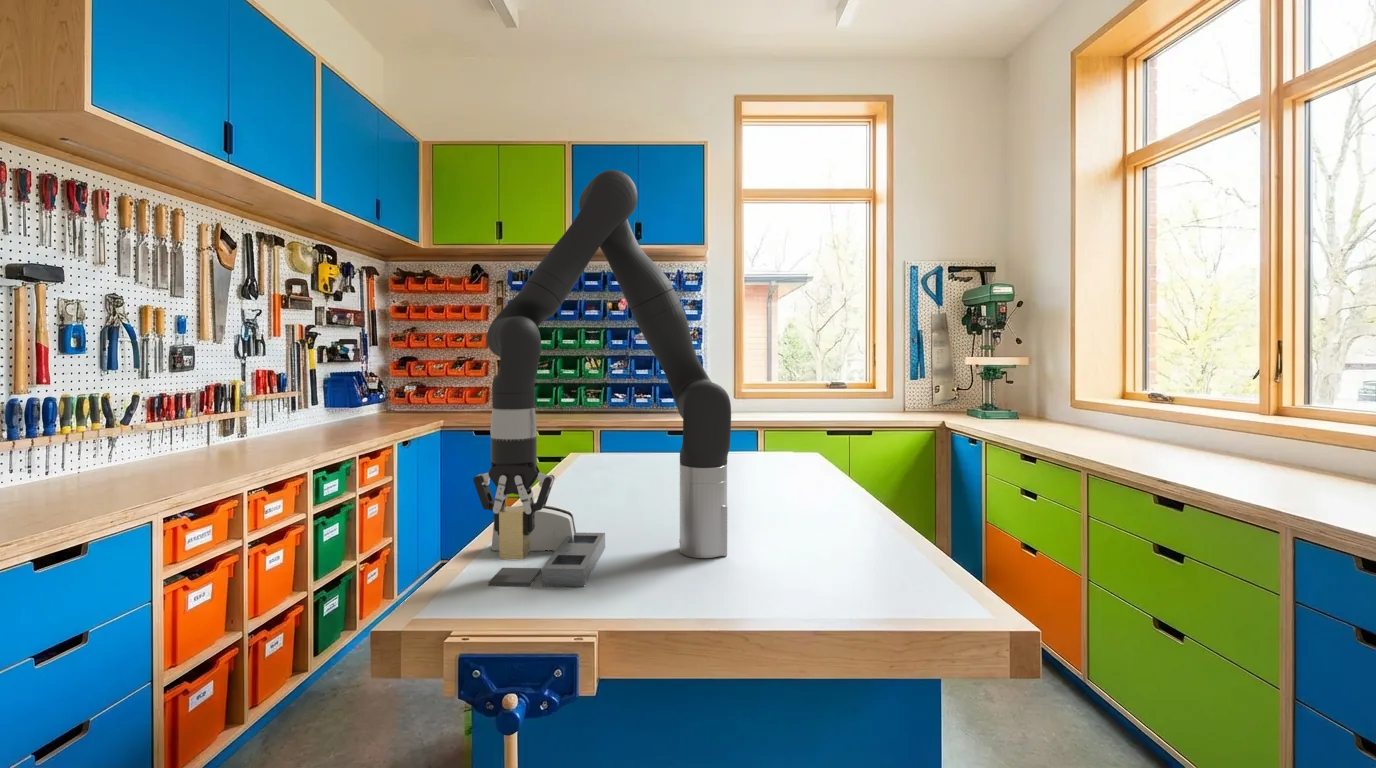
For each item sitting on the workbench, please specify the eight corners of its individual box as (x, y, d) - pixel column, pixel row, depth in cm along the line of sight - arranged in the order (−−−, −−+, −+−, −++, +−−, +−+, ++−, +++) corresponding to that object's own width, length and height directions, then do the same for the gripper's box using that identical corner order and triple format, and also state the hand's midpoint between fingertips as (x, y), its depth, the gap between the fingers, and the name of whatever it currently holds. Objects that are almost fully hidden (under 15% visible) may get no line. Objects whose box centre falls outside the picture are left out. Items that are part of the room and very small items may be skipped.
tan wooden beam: (529, 552, 111) (529, 506, 111) (522, 559, 107) (522, 512, 107) (507, 551, 111) (506, 506, 111) (499, 558, 107) (499, 512, 107)
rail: (605, 547, 126) (605, 532, 126) (583, 586, 105) (583, 569, 105) (570, 547, 127) (570, 532, 126) (542, 586, 106) (541, 568, 105)
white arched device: (579, 547, 129) (578, 500, 127) (576, 558, 125) (574, 510, 123) (497, 546, 129) (494, 500, 127) (490, 557, 124) (487, 509, 122)
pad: (541, 571, 113) (541, 568, 113) (530, 586, 106) (530, 582, 106) (502, 570, 113) (502, 567, 113) (488, 585, 106) (488, 581, 106)
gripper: (560, 432, 112) (560, 528, 112) (480, 431, 112) (481, 527, 113) (549, 438, 104) (549, 541, 105) (464, 436, 105) (465, 539, 106)
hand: (514, 533), depth 109 cm, fingers closed on tan wooden beam, 4 cm apart
